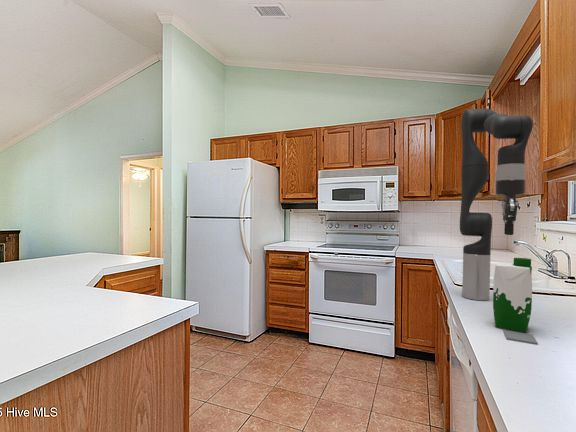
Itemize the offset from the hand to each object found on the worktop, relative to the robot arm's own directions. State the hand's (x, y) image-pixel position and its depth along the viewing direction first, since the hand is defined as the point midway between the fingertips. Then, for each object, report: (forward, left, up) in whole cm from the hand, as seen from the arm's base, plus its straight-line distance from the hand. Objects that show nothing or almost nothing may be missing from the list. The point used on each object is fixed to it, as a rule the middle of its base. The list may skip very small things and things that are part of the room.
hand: (508, 234), depth 100 cm
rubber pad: (+18, +1, -26) cm, 32 cm away
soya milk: (+10, 0, -26) cm, 28 cm away
